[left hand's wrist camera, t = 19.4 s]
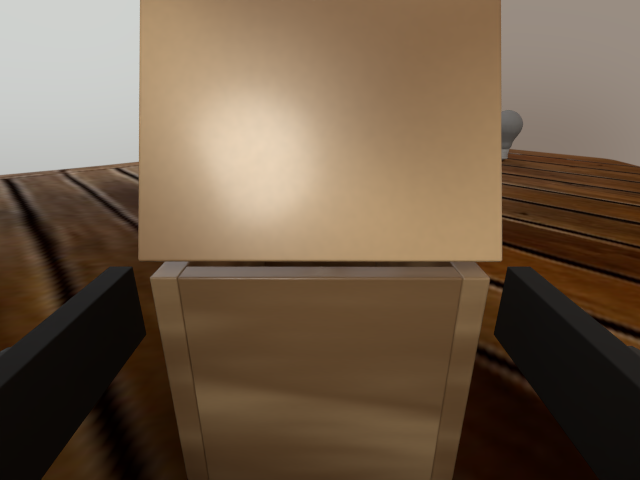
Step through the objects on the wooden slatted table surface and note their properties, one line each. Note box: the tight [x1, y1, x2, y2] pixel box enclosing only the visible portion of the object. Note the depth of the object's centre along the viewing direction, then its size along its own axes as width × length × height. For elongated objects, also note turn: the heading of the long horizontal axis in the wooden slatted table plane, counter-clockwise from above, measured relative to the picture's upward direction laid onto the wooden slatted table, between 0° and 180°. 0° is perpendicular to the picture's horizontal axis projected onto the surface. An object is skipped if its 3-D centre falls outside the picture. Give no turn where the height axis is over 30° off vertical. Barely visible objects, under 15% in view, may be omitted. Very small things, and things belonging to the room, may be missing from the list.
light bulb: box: [501, 110, 523, 160], centre depth 77 cm, size 6×6×10 cm
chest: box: [150, 262, 490, 480], centre depth 18 cm, size 15×9×9 cm, turn 0°
